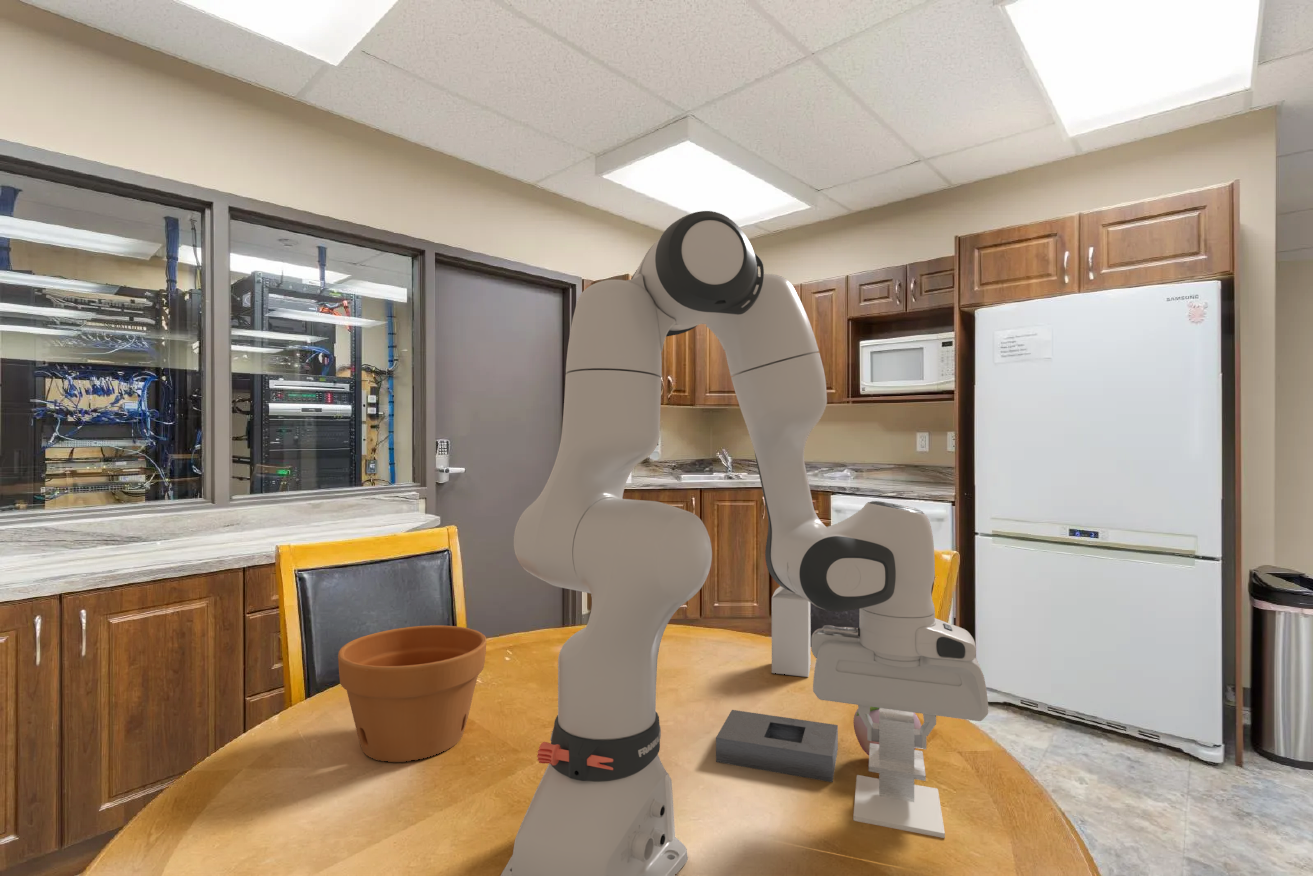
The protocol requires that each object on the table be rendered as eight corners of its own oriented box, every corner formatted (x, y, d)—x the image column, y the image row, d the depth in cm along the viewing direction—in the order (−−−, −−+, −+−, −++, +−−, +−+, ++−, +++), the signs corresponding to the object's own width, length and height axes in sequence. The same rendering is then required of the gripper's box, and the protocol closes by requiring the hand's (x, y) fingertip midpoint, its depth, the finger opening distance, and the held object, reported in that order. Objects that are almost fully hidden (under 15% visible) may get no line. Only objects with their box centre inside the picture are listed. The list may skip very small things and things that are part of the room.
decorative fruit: (891, 745, 95) (890, 678, 95) (933, 771, 87) (932, 698, 87) (839, 756, 91) (839, 687, 91) (878, 784, 84) (877, 709, 84)
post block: (832, 782, 84) (832, 756, 84) (715, 762, 90) (716, 737, 90) (837, 748, 94) (837, 725, 94) (732, 732, 99) (731, 709, 99)
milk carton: (771, 674, 124) (771, 577, 124) (775, 662, 131) (775, 570, 131) (808, 678, 122) (808, 579, 122) (810, 665, 129) (810, 572, 129)
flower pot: (425, 701, 111) (426, 617, 111) (514, 729, 100) (515, 635, 100) (306, 751, 93) (307, 650, 93) (399, 792, 82) (400, 677, 82)
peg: (922, 782, 81) (922, 708, 81) (925, 810, 75) (925, 729, 75) (869, 773, 83) (869, 701, 83) (868, 799, 77) (868, 721, 77)
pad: (944, 838, 72) (944, 833, 72) (853, 821, 76) (853, 816, 76) (937, 793, 82) (937, 788, 82) (856, 779, 85) (856, 775, 85)
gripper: (808, 630, 79) (808, 740, 79) (990, 648, 72) (991, 769, 72) (813, 617, 85) (813, 720, 85) (982, 633, 78) (982, 745, 78)
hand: (896, 743), depth 79 cm, fingers closed on peg, 4 cm apart
